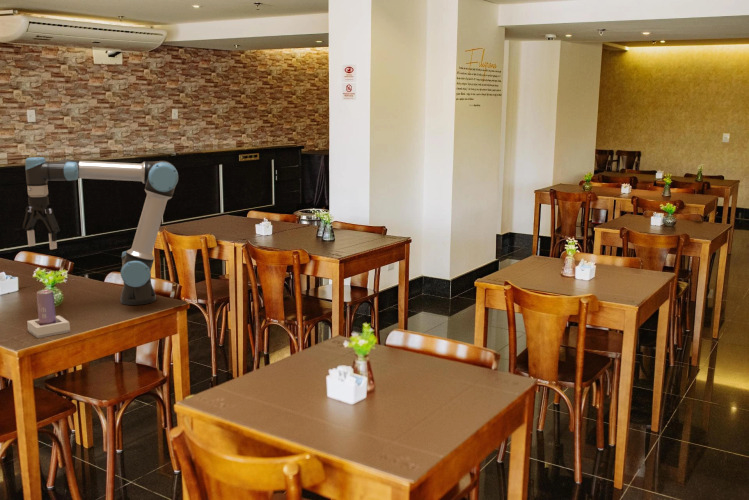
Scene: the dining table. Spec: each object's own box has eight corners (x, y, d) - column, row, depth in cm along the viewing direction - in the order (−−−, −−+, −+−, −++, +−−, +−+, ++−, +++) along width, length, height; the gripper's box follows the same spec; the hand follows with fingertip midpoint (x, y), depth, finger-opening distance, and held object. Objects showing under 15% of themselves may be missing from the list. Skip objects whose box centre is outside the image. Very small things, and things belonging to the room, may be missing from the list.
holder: (60, 325, 292) (59, 315, 291) (70, 332, 283) (69, 322, 282) (28, 330, 284) (27, 321, 284) (37, 338, 275) (36, 327, 275)
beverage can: (59, 327, 286) (56, 289, 283) (51, 331, 280) (47, 293, 277) (45, 326, 287) (41, 289, 284) (36, 331, 281) (33, 293, 278)
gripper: (10, 195, 299) (15, 246, 304) (50, 198, 287) (54, 251, 291) (26, 193, 306) (31, 243, 310) (66, 196, 294) (70, 248, 298)
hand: (42, 247), depth 301 cm, fingers open, 13 cm apart
